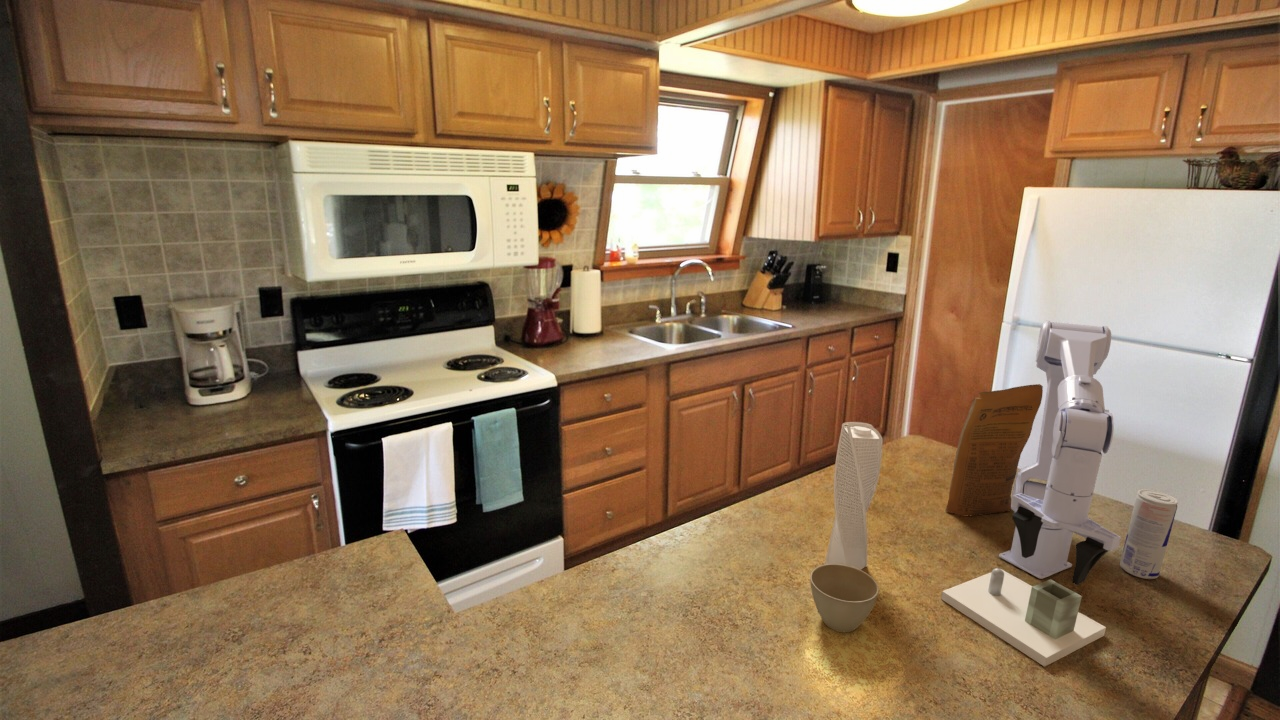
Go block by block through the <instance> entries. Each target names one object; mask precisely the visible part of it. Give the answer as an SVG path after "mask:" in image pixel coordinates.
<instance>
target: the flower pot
mask: <svg viewBox="0 0 1280 720" xmlns="http://www.w3.org/2000/svg"><path fill="white" fill-rule="evenodd" d="M809 582H810V589H811V590H810V591H811V594H812V598H813V601H814V605H815V606H816V609H817V613H818V614H819V616H820V618H821V619H822V622H823V623H824V624H825V626H827V627H828V628H829V629H830V630H832V631H836V632H839V633H851V632H854V631H855V630H856V629H857V628H858V627H860V626H861V624H863V623H864V621H865V620H866V619H867V618H868V616H869V615H870V613H871V612H872V610H873V608H874V606H875V604H876V602H877V599H878V595H879V592H880V588H879V587H880V586H879V584H878V582H877V581H876V579H875V578H874V577H873V576H871V575H870V574H869V573H867V572H865V571H864V570H863V569H861V570H860V569H858V568H855V567H852V566H848V565H842V564H825V563H824V564H821V565H819V566H816V567H815V568H813V570H812V571H811V572H810V581H809Z"/></svg>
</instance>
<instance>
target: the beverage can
mask: <svg viewBox="0 0 1280 720" xmlns="http://www.w3.org/2000/svg"><path fill="white" fill-rule="evenodd" d="M1178 504H1179V500H1178V499H1177V498H1176V497H1174V496H1172V495H1170V494H1167V493H1165V492H1161V491H1157V490H1153V489H1139V490H1137V494H1136V497H1135V500H1134V504H1133V508H1132V512H1131V516H1130V517H1131V518H1130V522H1129V524H1128V529H1127V533H1126V538H1125V541H1124V545H1123V550H1122V553H1121V557H1120V562H1119V566H1120V567H1121V569H1123V570H1124V571H1125V572H1126V573H1128V574H1130V575H1131V576H1134V577H1137V578H1140V579H1146V580H1154V579H1157V578H1159V577H1160V572H1161V569H1162V566H1163V562H1164V559H1165V554H1166V552H1167V547H1168V543H1169V539H1170V535H1171V532H1172V527H1173V524H1174V520H1175V517H1176V513H1177V510H1178Z"/></svg>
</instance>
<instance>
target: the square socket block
mask: <svg viewBox="0 0 1280 720" xmlns="http://www.w3.org/2000/svg"><path fill="white" fill-rule="evenodd" d="M1081 601H1082V595H1080V594H1078V593H1077V592H1075V591H1073V590H1071V589H1069V588H1067V587H1065V586H1063V585H1062V584H1060V583H1058V582H1056V581H1054V580H1053V579H1048V580H1046V581H1042V582H1040V583H1038V584H1036V585H1032V589H1031V594H1030V598H1029V603H1028V608H1027V613H1026V617H1025V621H1026V622H1027V623H1029V624H1031V625H1032V626H1034V627H1035V628H1037V629H1039V630H1040V631H1042V632H1044V633H1045V634H1047V635H1048V636H1050V637H1052V638H1053V639H1057V638H1060V637H1062V636H1064V635H1066V634H1068V633H1070V632H1072V631H1074V627H1075V623H1076V619H1077V614H1078V612H1079V609H1080V605H1081Z"/></svg>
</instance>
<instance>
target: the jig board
mask: <svg viewBox="0 0 1280 720" xmlns="http://www.w3.org/2000/svg"><path fill="white" fill-rule="evenodd" d="M1032 587H1033V585H1030V584H1029V583H1027V582H1025V581H1024V580H1022V579H1020V578H1018V577H1016V576H1015V575H1013V574H1011V573H1009V572H1007V571H1005V570H1004V569H1002V568H998V567H996V568H993V569H992V570H991V572H988V573H985V574H983V575H981V576H978V577H976V578H972V579H970V580H968V581H964V582H963V583H959V584H957V585H955V586H952V587H950V588H947V589H944V590H942V591H941V598H940V599H941V600H942V601H943V602H945V603H946V604H948V605H949V606H951V607H953V608H954V609H956V610H958V612H960V613H962V614H964V616H966V617H967V618H969V619H971V620H972V621H974V622H976V623H977V624H979V626H982V627H983V628H985V629H986V630H987V631H989V632H991V633H992V634H994V635H996V636H997V637H998V638H1000V639H1001V640H1002V641H1004V642H1006V643H1007V644H1009V645H1011V647H1014V648H1015V649H1017V650H1019V651H1020V652H1022V653H1023V654H1025V656H1028V657H1029V658H1031V659H1032V660H1033V661H1035V662H1037V663H1039V664H1040V665H1042V666H1043V667H1047V666H1048V665H1050V664H1052V663H1055V662H1056V661H1058V660H1060V659H1062V658H1064V657H1066V656H1068V655H1070V654H1072V653H1073V652H1076V651H1077V650H1079V649H1081V648H1084V647H1086V646H1087V645H1089V644H1091V643H1093V642H1095V641H1096V640H1098V639H1099V640H1100V639H1101V638H1102V637H1104V636H1105V635H1106V634H1105V633H1106V629H1107V627H1106V626H1105V625H1103V624H1101V623H1099V622H1097V621H1096V620H1094V619H1092V618H1091V617H1089V616H1087V615H1085V614H1083V613H1081V612H1079V611H1078V614H1077V619H1076V623H1075V627H1074V631H1072V632H1070V633H1068V634H1066V635H1064V636H1062V637H1060V638H1057V639H1053V638H1052V637H1050V636H1048V635H1047V634H1045V633H1044V632H1042V631H1040V630H1039V629H1037V628H1035V627H1034V626H1032V625H1031V624H1029V623H1027V622H1026V621H1025V617H1026V613H1027V608H1028V603H1029V598H1030V594H1031V589H1032Z"/></svg>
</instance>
